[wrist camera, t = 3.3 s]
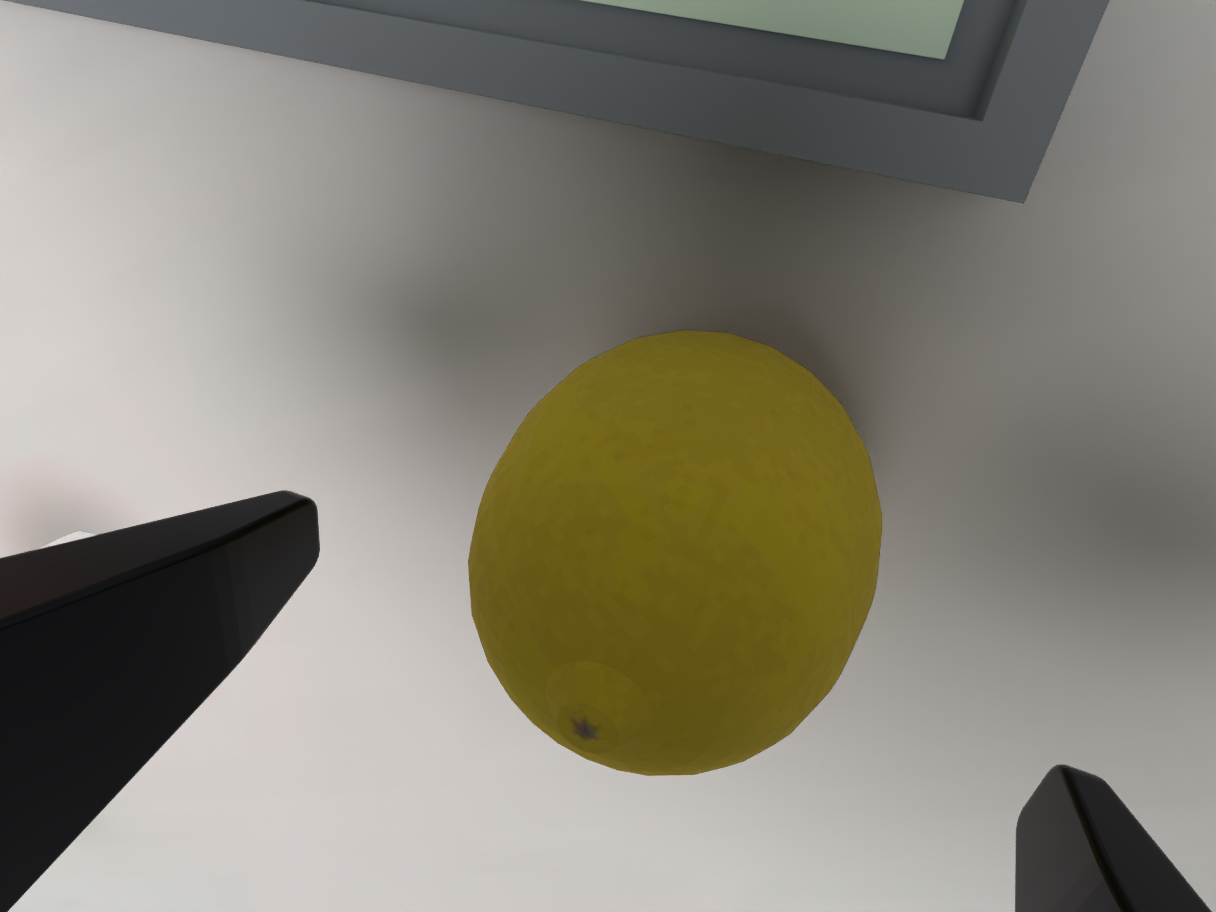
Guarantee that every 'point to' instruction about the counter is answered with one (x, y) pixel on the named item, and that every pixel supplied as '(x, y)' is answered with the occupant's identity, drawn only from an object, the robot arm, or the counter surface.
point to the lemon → (676, 553)
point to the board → (711, 67)
